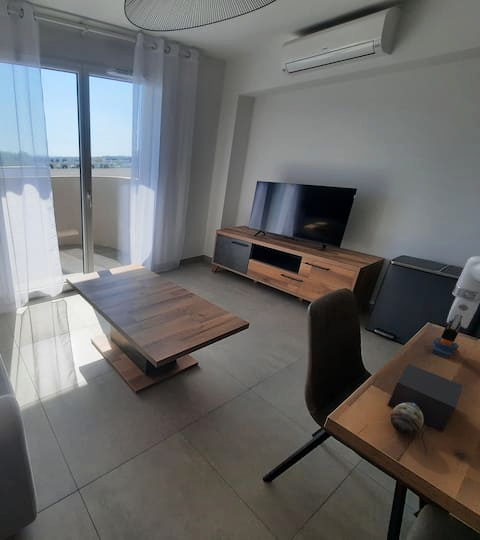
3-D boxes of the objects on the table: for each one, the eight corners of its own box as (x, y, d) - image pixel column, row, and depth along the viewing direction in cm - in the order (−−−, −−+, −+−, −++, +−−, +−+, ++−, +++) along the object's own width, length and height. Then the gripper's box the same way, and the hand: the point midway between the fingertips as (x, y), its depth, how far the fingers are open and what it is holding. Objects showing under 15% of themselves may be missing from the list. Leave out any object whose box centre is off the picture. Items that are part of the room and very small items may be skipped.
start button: (451, 347, 102) (453, 342, 101) (439, 342, 104) (441, 338, 103) (452, 343, 103) (454, 339, 103) (440, 339, 106) (442, 335, 105)
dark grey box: (398, 385, 89) (408, 363, 86) (450, 408, 81) (462, 385, 78) (387, 405, 82) (397, 382, 79) (442, 432, 74) (455, 407, 71)
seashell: (392, 413, 80) (403, 390, 77) (421, 427, 76) (433, 404, 73) (381, 430, 75) (392, 407, 72) (411, 447, 71) (423, 423, 68)
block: (452, 360, 100) (456, 351, 99) (428, 351, 104) (432, 343, 103) (456, 349, 105) (460, 341, 104) (433, 341, 110) (437, 333, 109)
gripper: (485, 304, 89) (459, 352, 96) (489, 290, 98) (465, 336, 105) (450, 295, 95) (428, 341, 102) (457, 283, 103) (436, 327, 110)
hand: (447, 338), depth 103 cm, fingers closed
